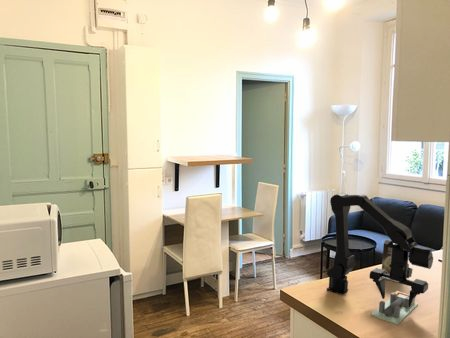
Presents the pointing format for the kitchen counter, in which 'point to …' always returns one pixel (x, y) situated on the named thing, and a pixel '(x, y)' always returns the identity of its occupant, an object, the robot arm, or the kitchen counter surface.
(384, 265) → the coffee box
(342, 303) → the kitchen counter surface
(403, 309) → the clip board
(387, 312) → the rod
